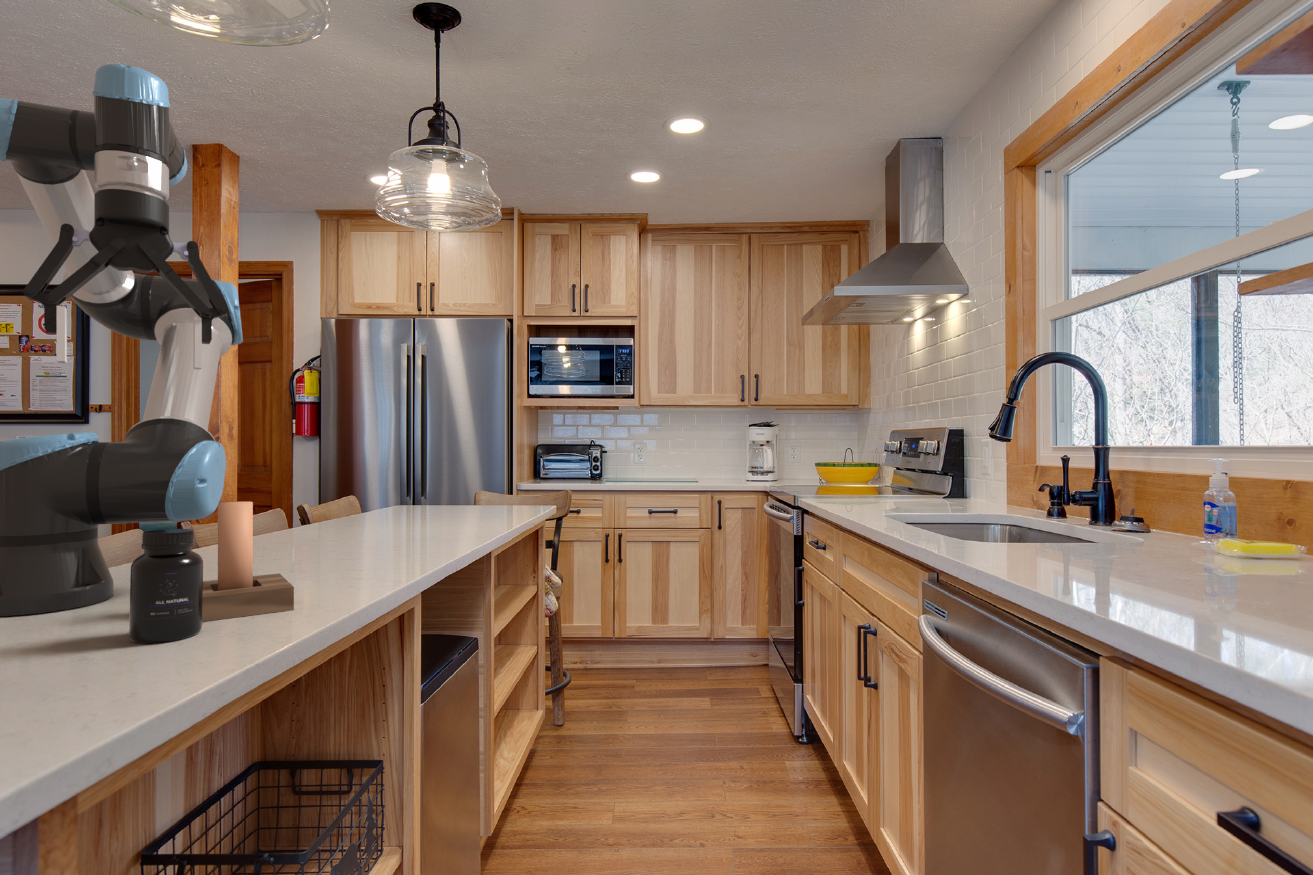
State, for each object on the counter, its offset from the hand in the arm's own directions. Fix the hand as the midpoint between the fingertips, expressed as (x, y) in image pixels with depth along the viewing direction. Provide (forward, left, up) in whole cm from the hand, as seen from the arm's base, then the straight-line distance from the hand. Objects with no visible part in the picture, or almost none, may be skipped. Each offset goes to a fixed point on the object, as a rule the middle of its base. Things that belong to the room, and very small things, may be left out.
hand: (132, 365), depth 88 cm
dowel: (+1, +11, -32) cm, 34 cm away
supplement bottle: (+12, +3, -32) cm, 34 cm away
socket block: (+1, +11, -32) cm, 34 cm away
